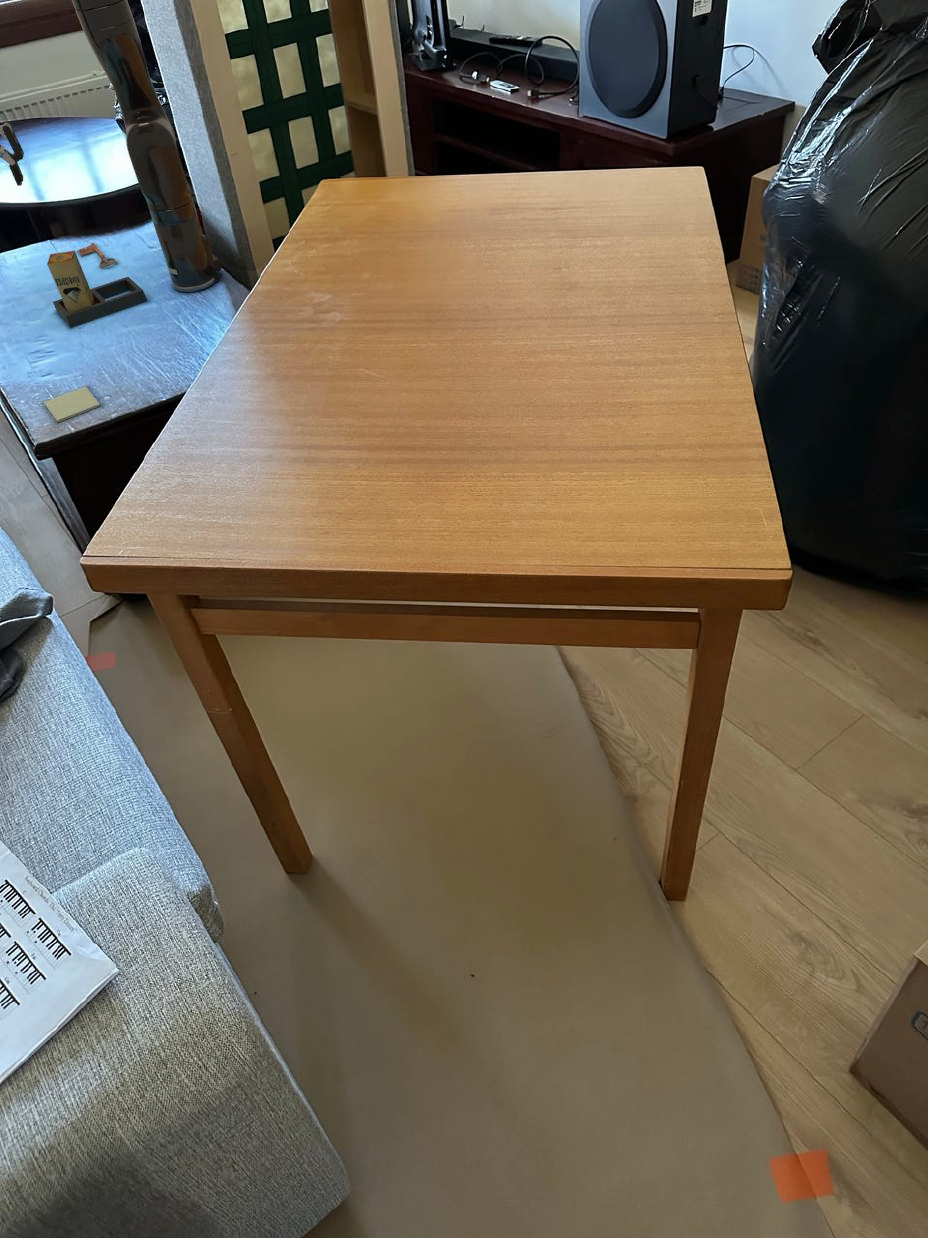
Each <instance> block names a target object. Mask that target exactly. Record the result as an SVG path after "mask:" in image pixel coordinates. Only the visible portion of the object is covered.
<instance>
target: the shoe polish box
mask: <svg viewBox="0 0 928 1238" xmlns="http://www.w3.org/2000/svg"><path fill="white" fill-rule="evenodd" d="M46 266H47V268H48V270H49V273H50V274H51V277H52V279H53V281H54V284H55V286H56V289H57V291H58V293H59V295H60V297H61V298H60V299H62V300H63V302H64V305H65V307H66V309H67V312H68V313H72V312H75V311H78V310H80V309H83V308H86V307H89V306H92V305H95V304H96V302H95V299H94V297H93V294H92V292H91V290H90V289H91V287H90V285H89V282H88V280H87V278H86V275H85V272H84V270H83V268H82V265H81V262H80V260H79V257H78V255H77V252H76V250H70V251H69V250H68V251H62V252H56V253H50V254H49V257H48V260H47V263H46Z"/></svg>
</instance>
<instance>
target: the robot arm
mask: <svg viewBox="0 0 928 1238" xmlns="http://www.w3.org/2000/svg"><path fill="white" fill-rule="evenodd" d="M71 3H72V5H73V8H74V10H75V13H76V16H77V18H78V20H79V23H80V25H81V28H82V30H83V33H84V35H85V37H86V40H87V42H88V44H89V46H90V48H91V50H92V52H93V54H94V55H95V58H96V59H97V61H98V63H99V65H100V66H101V68H102V69H103V71H104V73H105V75H106V77H107V78H108V80H109V82H110V84H111V86H112V88H113V91H114V93H115V97H116V100H117V102H118V105H119V109H120V112H121V115H122V118H123V123H124V127H125V132H126V133H125V134H126V136H125V143H126V149H127V153H128V156H129V159H130V163H131V165H132V168H133V171H134V174H135V177H136V180H137V182H138V185H139V189H140V191H141V194H142V195H143V197H144V200H145V202H146V205H147V208H148V209H147V210H148V212H149V214H150V218H151V221H152V224H153V227H154V230H155V234H156V236H157V239H158V242H159V245H160V248H161V251H162V254H163V257H164V260H165V263H166V266H167V270H168V273H169V276H170V279H171V283H172V286H173V289H174V290H176V291H178V292H180V293H181V292H182V293H194V292H199V291H203V290H206V289H208V288H209V287H212V286H213V285H214V284H215V283H216V282H219V281H220V278H219V274H218V273H220V272H221V270H222V268H223V265H222V264H223V263H222V262H221V261H220V260H219V258H218V257H217V256H215V255H214V254H213V253H212V250H211V247H210V243H209V239H208V237H207V236H206V235H205V234H204V233H203V229H202V227H201V222H200V219H199V216H198V213H197V210H196V209H197V208H196V205H195V202H194V198H193V194H192V191H191V188H190V185H189V183H188V180H187V177H186V173H185V170H184V167H183V163H182V160H181V157H180V153H179V150H178V146H177V140H176V135H175V134H176V133H175V130H174V127H173V126H172V124H171V122H170V120H169V118H168V116H167V113H166V111H165V109H164V107H163V105H162V103H161V99H160V98H159V96H158V94H157V92H156V88H155V86H154V84H153V82H152V78H151V76H150V72H149V68H148V65H147V61H146V57H145V56H146V55H145V53H144V49H143V45H142V42H141V38H140V35H139V31H138V28H137V26H136V21H135V18H134V17H133V16H134V15H133V13H132V10H131V7H130V5H129V1H128V0H71ZM0 135H1V136H2V138H3V139H5V140H6V139H7V141H8V143H9V146H10V147H11V149H12V152H13V153H12V152H11V151H9V150H8V149H7V148H6V147H5V146H4V145H3V144H2V143H0V159H2V160H3V161H5V163H7V164H8V167H9V169H10V172H11V174H12V176H13V179H14V181H15V183H16V186H18V187H19V186H23V182H24V174H23V171H22V170H21V167H20V165H19V162H20V161H22V160H24V156H25V151H24V149H23V148H22V145H21V143H20V141H19V139H18V137H17V135H16V133H15V131H14V128H13V126H12V124H11V123H10V122H9V121H5V122H4V123H3V124H1V125H0Z"/></svg>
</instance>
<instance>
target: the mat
mask: <svg viewBox="0 0 928 1238" xmlns="http://www.w3.org/2000/svg"><path fill="white" fill-rule="evenodd" d="M43 404H44V406H45V407H46V409H47V410H48V411H49V413H50V414H51V415H52V417H53V419H54V420H55V421H56V423H61V422H63V421H66V420H68V419H71V418H73V417H76V416H79V415H82V414H84V413H87V412H89V411H92V410H94V409H96V408H99V407H101V403H100V402H99V401H98V400H97V398H95V396H94V395H93V393H92V392H91V391H90V390H89V389H88V387H87V386H82V387H79V388H76V389H75V390H72V391H70V392H67V393H64V394H62V395H59V396H56V397H54V398H51V399H47V400H45V401H43Z"/></svg>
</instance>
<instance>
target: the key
mask: <svg viewBox="0 0 928 1238" xmlns="http://www.w3.org/2000/svg"><path fill="white" fill-rule="evenodd" d="M77 252H78V253H79V255H80V256H82V257H83V256H86V255H88V254H91V253H93V252H95V253H97V255H98V256H99V257H100V259H101V261H100V262H99V264H98V265H99V267H101V268H107V267H110V266H112V265H114V264H115V263H116V258H113V257H108V258H107V257H106V255H104V254H103V252H102V251H101V250H100V248H98V247H97V245H96V244H95V243H94V242H91V243H90V245H88V246H85V247H83V248H80V249H77Z"/></svg>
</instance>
